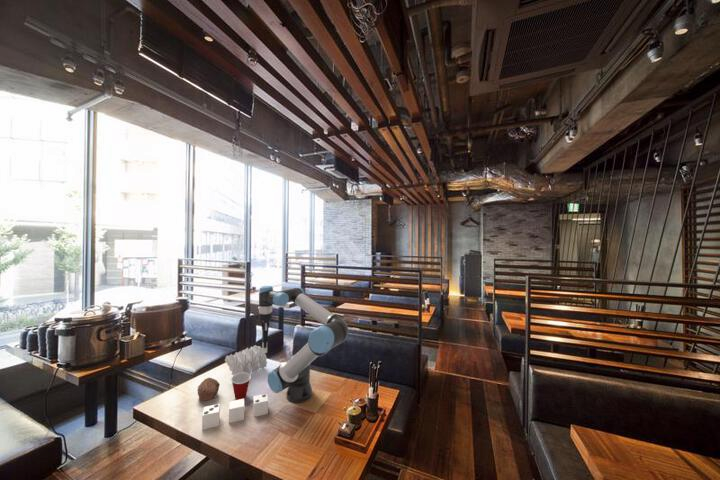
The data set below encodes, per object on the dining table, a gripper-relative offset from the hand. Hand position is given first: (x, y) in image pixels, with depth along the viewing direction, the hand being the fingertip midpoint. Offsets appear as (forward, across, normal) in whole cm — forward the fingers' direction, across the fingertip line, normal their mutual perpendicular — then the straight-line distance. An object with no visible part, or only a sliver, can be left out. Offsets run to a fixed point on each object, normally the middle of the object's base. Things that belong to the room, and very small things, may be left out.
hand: (264, 352), depth 155 cm
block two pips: (+27, +12, -2) cm, 29 cm away
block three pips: (+27, +13, -26) cm, 39 cm away
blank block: (+27, +13, -14) cm, 33 cm away
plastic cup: (+27, -5, -12) cm, 30 cm away
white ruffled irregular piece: (+27, -32, -8) cm, 43 cm away
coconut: (+27, -12, -30) cm, 42 cm away
